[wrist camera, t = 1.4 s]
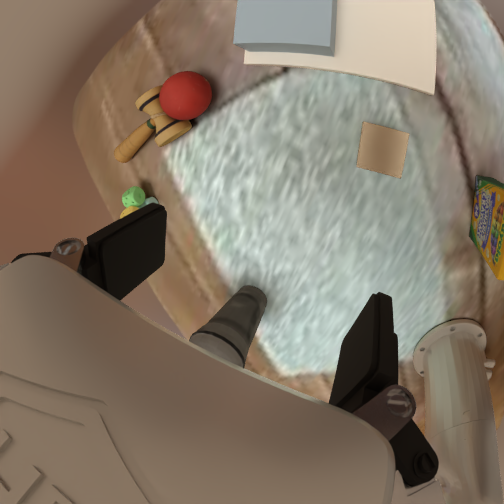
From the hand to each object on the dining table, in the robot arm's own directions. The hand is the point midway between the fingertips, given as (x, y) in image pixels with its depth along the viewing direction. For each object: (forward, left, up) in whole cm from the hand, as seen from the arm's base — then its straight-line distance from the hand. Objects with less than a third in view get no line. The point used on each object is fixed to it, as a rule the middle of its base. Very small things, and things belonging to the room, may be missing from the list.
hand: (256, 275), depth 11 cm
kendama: (+21, -4, -21) cm, 30 cm away
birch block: (-5, -5, -21) cm, 22 cm away
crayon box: (-19, -2, -21) cm, 28 cm away
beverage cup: (+7, +19, -21) cm, 29 cm away
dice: (+24, +8, -21) cm, 33 cm away
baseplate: (0, -18, -21) cm, 27 cm away
